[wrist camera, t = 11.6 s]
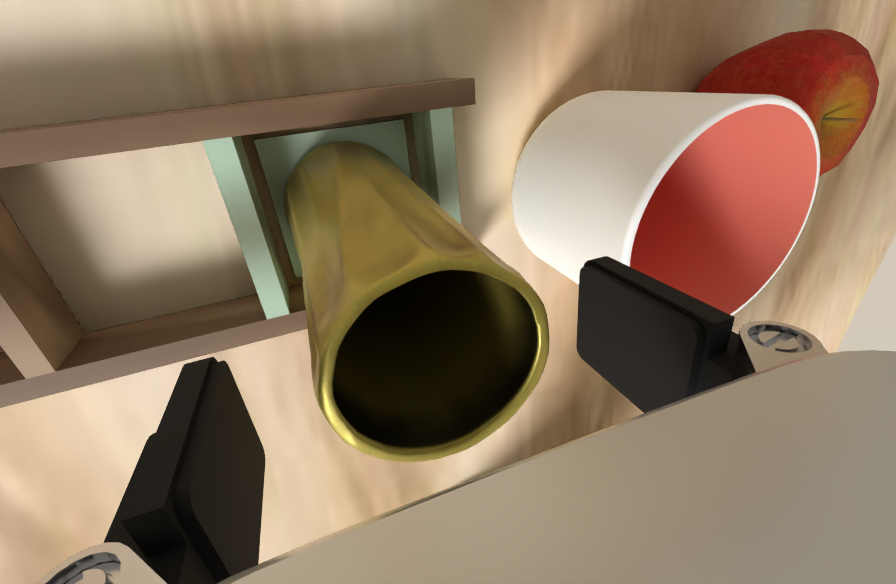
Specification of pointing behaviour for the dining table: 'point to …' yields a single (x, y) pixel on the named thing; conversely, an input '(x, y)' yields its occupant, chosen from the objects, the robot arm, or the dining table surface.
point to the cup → (670, 188)
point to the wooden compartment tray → (220, 129)
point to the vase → (406, 311)
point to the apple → (808, 83)
